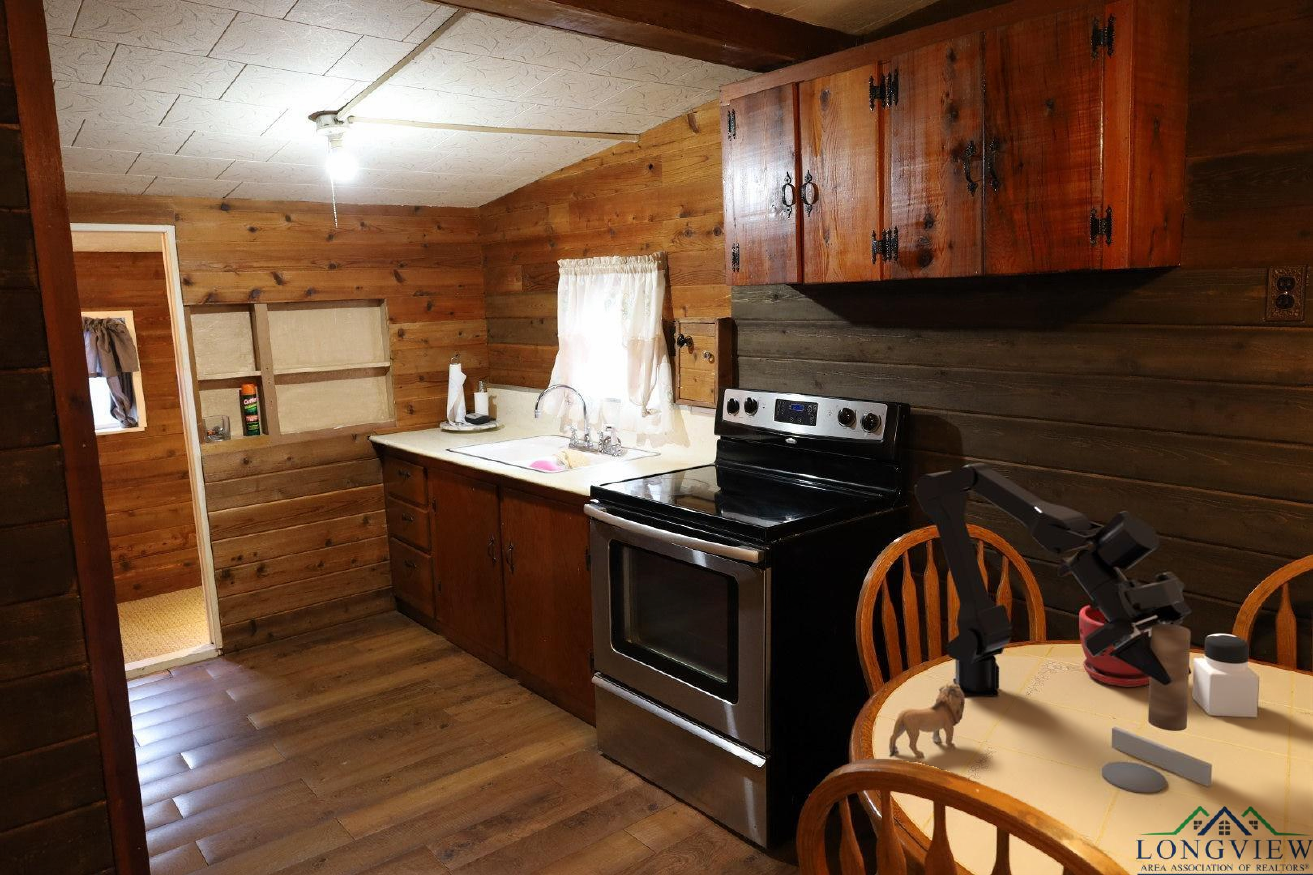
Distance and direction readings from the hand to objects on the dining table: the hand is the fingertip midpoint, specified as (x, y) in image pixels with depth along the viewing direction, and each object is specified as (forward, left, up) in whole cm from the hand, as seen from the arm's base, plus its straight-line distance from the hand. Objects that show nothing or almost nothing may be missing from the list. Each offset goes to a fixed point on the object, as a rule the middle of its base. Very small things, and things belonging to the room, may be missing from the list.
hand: (1178, 679), depth 125 cm
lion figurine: (-34, +5, -14) cm, 37 cm away
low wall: (-2, +1, -13) cm, 14 cm away
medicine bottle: (+16, +21, -14) cm, 30 cm away
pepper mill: (-1, +1, -7) cm, 7 cm away
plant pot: (+4, +33, -14) cm, 36 cm away
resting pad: (-7, -3, -13) cm, 15 cm away
